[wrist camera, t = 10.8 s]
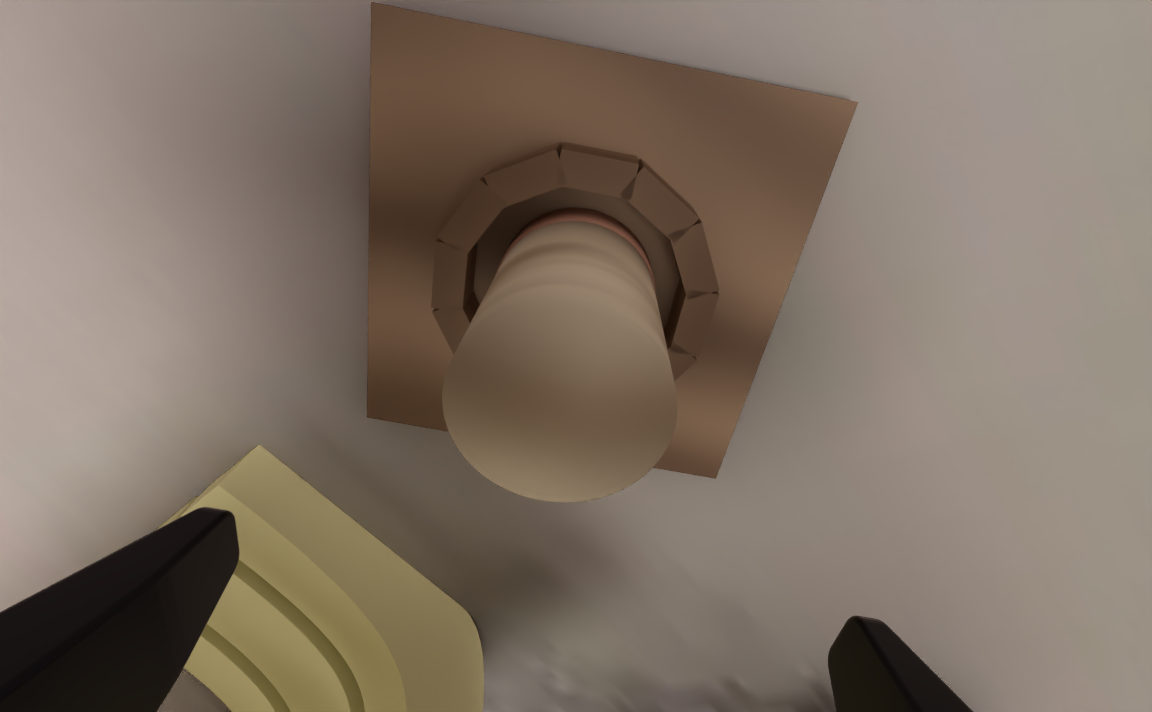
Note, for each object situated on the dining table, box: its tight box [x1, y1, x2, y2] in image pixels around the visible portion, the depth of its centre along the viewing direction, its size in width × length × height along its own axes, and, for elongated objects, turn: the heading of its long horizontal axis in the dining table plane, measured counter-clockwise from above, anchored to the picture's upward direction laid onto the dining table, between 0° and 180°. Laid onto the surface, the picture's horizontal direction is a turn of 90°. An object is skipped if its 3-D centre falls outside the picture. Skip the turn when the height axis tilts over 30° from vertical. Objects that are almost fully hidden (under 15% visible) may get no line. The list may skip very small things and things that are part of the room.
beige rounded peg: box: [442, 208, 678, 502], centre depth 16 cm, size 5×5×8 cm
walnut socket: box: [367, 2, 858, 478], centre depth 19 cm, size 14×14×2 cm
